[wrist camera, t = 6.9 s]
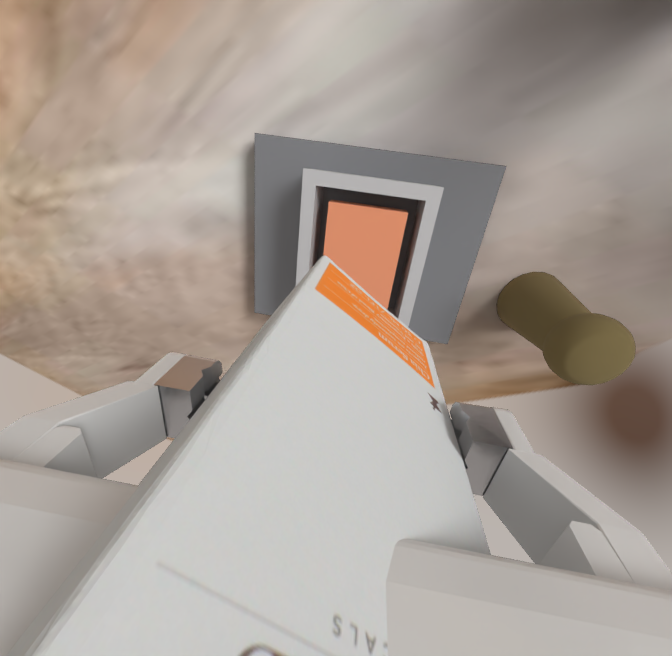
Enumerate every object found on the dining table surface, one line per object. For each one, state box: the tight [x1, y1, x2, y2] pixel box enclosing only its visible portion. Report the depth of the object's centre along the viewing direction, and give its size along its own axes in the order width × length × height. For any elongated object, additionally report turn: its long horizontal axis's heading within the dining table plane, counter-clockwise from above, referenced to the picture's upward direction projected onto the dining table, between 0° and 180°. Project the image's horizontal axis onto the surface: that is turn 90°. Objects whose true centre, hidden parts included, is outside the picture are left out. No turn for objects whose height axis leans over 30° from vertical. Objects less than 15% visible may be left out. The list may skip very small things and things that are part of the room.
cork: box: [497, 272, 635, 385], centre depth 25 cm, size 6×6×11 cm
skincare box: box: [6, 255, 491, 656], centre depth 8 cm, size 6×4×12 cm
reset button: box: [323, 200, 408, 309], centre depth 26 cm, size 6×8×2 cm
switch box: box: [255, 133, 506, 344], centre depth 27 cm, size 20×16×6 cm
